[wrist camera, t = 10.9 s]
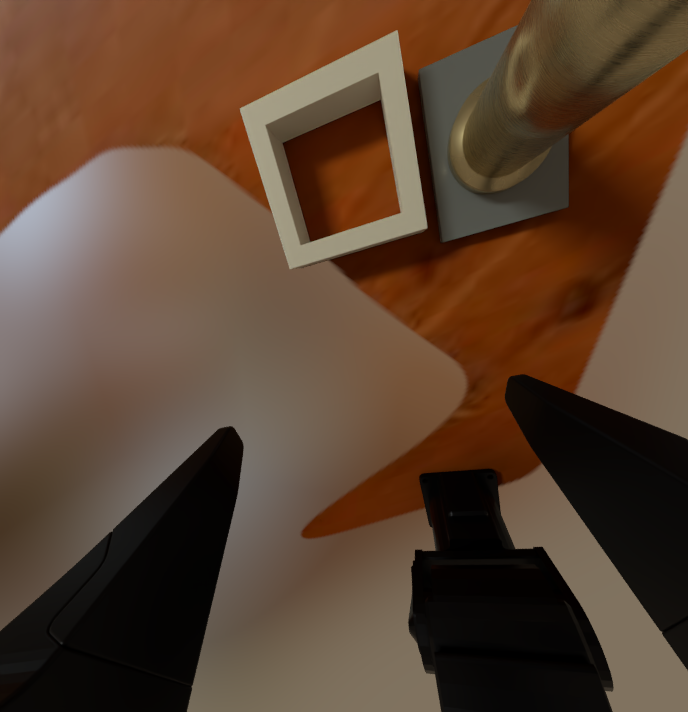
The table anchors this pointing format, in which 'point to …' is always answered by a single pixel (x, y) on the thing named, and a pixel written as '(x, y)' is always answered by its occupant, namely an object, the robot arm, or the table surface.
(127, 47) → the table surface
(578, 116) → the light bulb
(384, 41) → the socket
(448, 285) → the table surface
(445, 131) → the slate pad
